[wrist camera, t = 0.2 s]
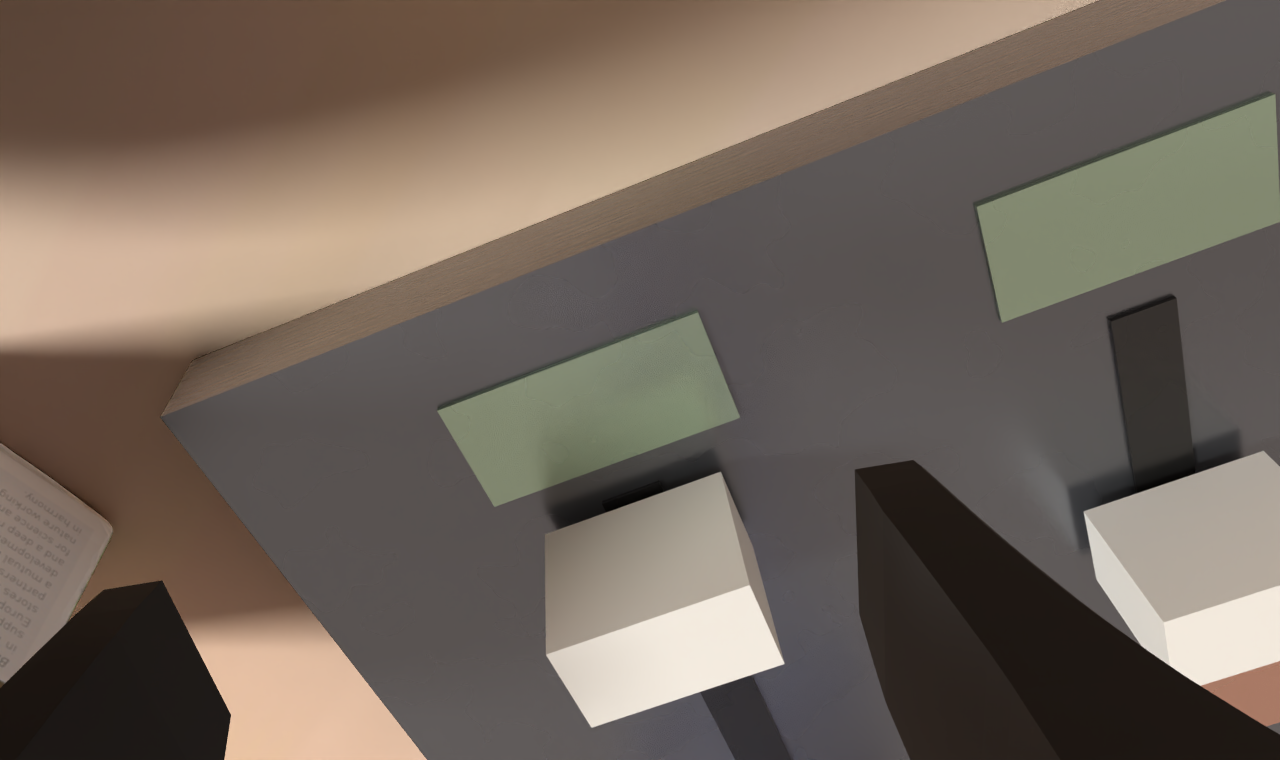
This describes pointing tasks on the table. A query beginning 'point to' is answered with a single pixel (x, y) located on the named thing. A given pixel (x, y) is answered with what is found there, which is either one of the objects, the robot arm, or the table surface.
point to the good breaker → (656, 602)
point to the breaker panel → (785, 376)
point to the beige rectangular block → (1197, 567)
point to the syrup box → (41, 558)
